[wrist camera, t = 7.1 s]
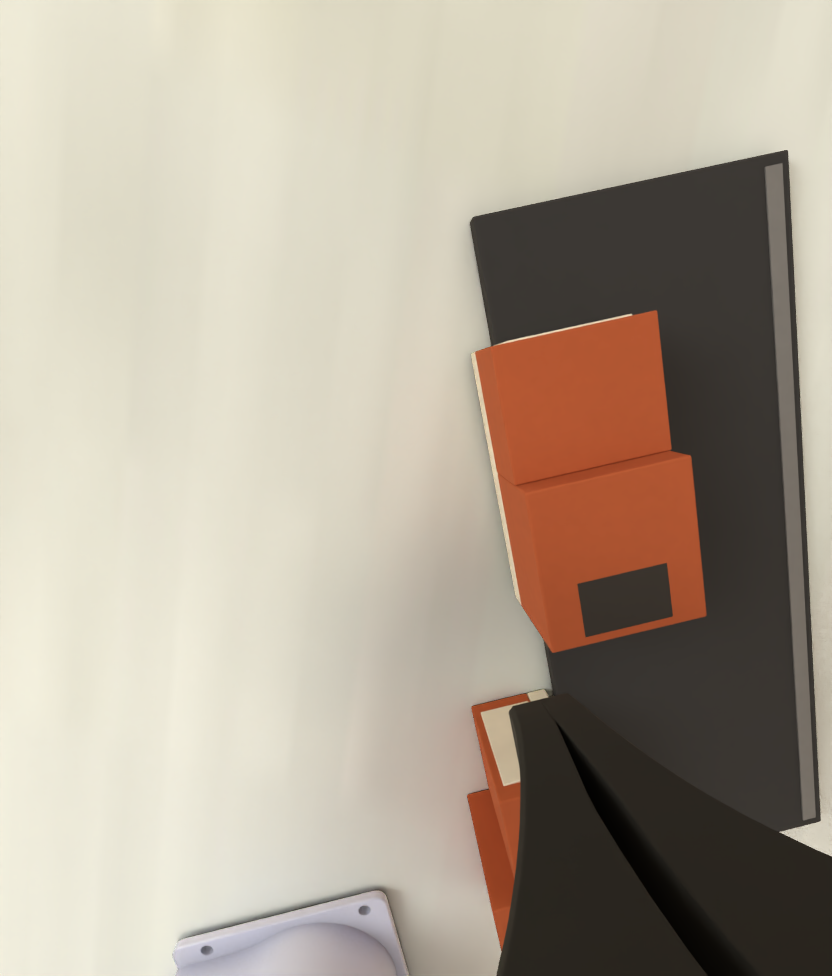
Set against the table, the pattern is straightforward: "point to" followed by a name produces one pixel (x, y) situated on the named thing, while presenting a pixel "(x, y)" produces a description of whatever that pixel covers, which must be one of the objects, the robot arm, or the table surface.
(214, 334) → the table surface
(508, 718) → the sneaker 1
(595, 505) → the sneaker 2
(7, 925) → the table surface
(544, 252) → the shoe mat
